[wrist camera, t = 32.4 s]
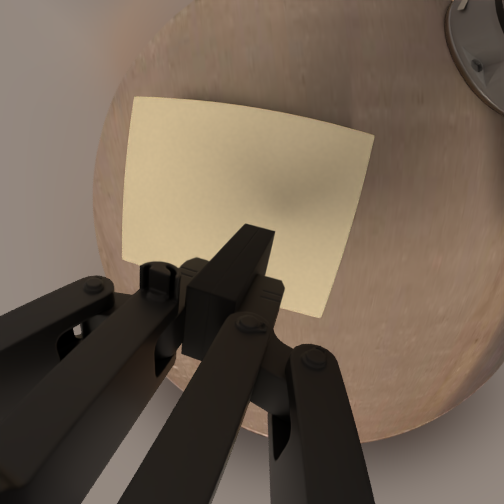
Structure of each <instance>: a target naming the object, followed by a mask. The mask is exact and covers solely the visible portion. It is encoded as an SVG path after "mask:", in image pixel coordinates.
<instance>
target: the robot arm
mask: <svg viewBox="0 0 504 504" xmlns="http://www.w3.org/2000/svg"><path fill="white" fill-rule="evenodd" d="M445 34H446V39H447V43H448V47H449V50H450V52H451V55H452V57H453V60H454V62H455V64H456V66H457V68H458V70H459V71H460V73H461V75H462V76H463V78H464V79H465V81H466V82H467V84H468V85H469V86H470V88H471V89H472V90H473V91H474V92H475V94H476V95H477V96H478V97H479V98H480V99H481V100H482V101H483V102H484V103H486V104H487V105H488V106H489V107H490V108H492V109H493V110H495V111H496V112H498V113H500V114H501V115H503V116H504V0H454V1H453V2H452V3H451V4H450V6H449V8H448V10H447V13H446V17H445ZM274 236H275V231H273V230H269V229H265V228H262V227H258V226H254V225H250V224H246V223H245V224H244V225H243V226H242V227H241V228H240V229H239V230H238V231H237V232H236V233H235V234H234V236H233V237H232V238H231V239H230V240H229V241H228V242H227V243H226V244H225V245H224V246H223V247H222V248H221V249H220V250H219V251H218V253H217V254H216V255H215V256H214V257H213V258H212V259H211V260H210V261H208V260H205V259H201V258H198V257H195V258H192V259H190V260H187V261H185V262H184V263H183V264H182V265H181V266H180V267H179V268H178V267H176V266H175V265H173V264H170V263H167V262H162V261H152V262H147V263H144V264H142V265H140V289H139V290H138V291H137V292H136V293H135V294H133V295H129V294H123V293H116V292H114V284H113V282H112V281H111V280H110V279H108V278H106V277H102V276H88V277H85V278H82V279H80V280H77V281H75V282H73V283H71V284H68V285H66V286H64V287H62V288H59V289H58V290H55V291H53V292H51V293H49V294H46V295H44V296H42V297H40V298H38V299H36V300H33V301H31V302H29V303H27V304H25V305H23V306H21V307H19V308H16V309H15V310H12V311H10V312H8V313H6V314H4V315H2V316H0V504H81V503H82V501H83V500H84V498H85V497H86V495H87V494H88V492H89V491H90V489H91V488H92V486H93V485H94V483H95V482H96V480H97V478H98V477H99V476H100V474H101V473H102V471H103V470H104V468H105V467H106V465H107V464H108V462H109V461H110V459H111V457H112V456H113V455H114V453H115V452H116V450H117V449H118V447H119V445H120V444H121V442H122V441H123V440H124V438H125V437H126V435H127V434H128V432H129V431H130V429H131V428H132V426H133V425H134V423H135V422H136V420H137V419H138V417H139V416H140V414H141V413H142V411H143V410H144V408H145V407H146V405H147V404H148V402H149V400H150V399H151V398H152V396H153V395H154V393H155V392H156V390H157V389H158V387H159V386H160V384H161V383H162V381H163V380H164V378H165V377H166V375H167V374H168V372H169V371H170V369H171V368H172V366H173V365H174V363H175V360H176V350H177V349H178V348H179V346H180V345H181V343H182V352H181V354H184V355H186V356H189V357H192V358H195V359H197V360H200V361H201V363H200V365H199V367H198V368H197V370H196V372H195V373H194V375H193V377H192V379H191V380H190V382H189V384H188V385H187V387H186V389H185V390H184V392H183V394H182V396H181V397H180V399H179V401H178V403H177V404H176V406H175V408H174V409H173V411H172V413H171V415H170V416H169V418H168V419H167V421H166V423H165V425H164V426H163V428H162V430H161V431H160V433H159V435H158V437H157V438H156V440H155V442H154V443H153V445H152V447H151V448H150V450H149V451H148V453H147V455H146V457H145V458H144V460H143V462H142V463H141V465H140V467H139V468H138V470H137V472H136V473H135V475H134V477H133V478H132V480H131V482H130V483H129V485H128V487H127V488H126V490H125V492H124V493H123V495H122V496H121V498H120V500H119V501H118V503H117V504H211V503H212V501H213V498H214V496H215V493H216V490H217V488H218V485H219V483H220V480H221V478H222V475H223V473H224V470H225V467H226V465H227V462H228V460H229V457H230V454H231V452H232V449H233V446H234V444H235V441H236V438H237V435H238V433H239V430H240V427H241V425H242V422H243V419H244V416H245V413H246V411H247V408H248V405H249V403H250V401H251V402H252V403H254V404H256V405H257V406H259V407H261V408H262V409H264V410H266V411H267V412H268V439H269V466H270V497H271V504H375V502H374V497H373V493H372V488H371V484H370V480H369V476H368V472H367V467H366V463H365V459H364V455H363V451H362V447H361V443H360V440H359V436H358V432H357V428H356V425H355V421H354V417H353V414H352V410H351V406H350V403H349V399H348V396H347V392H346V389H345V385H344V382H343V378H342V375H341V372H340V368H339V365H338V362H337V360H336V358H335V356H334V355H333V354H332V353H331V352H329V351H328V350H327V349H325V348H323V347H321V346H318V345H313V344H302V345H299V346H296V347H295V348H294V349H293V348H291V347H289V346H287V345H286V344H284V343H282V342H281V341H280V340H279V339H278V338H277V336H276V335H275V333H274V330H273V328H274V325H275V322H276V319H277V315H278V312H279V308H280V305H281V301H282V298H283V294H284V291H285V287H284V284H283V282H282V280H278V279H275V278H271V277H268V276H265V274H266V270H267V266H268V262H269V257H270V253H271V249H272V244H273V240H274ZM79 324H80V327H81V334H80V335H74V331H73V328H74V327H75V326H77V325H79Z"/></svg>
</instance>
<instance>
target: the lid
mask: <svg viewBox="0 0 504 504" xmlns="http://www.w3.org/2000/svg"><path fill="white" fill-rule="evenodd" d="M374 137H375V136H374V135H372V134H369V133H365V132H362V131H358V130H355V129H351V128H348V127H344V126H340V125H336V124H332V123H328V122H324V121H320V120H316V119H312V118H307V117H303V116H298V115H293V114H288V113H283V112H278V111H273V110H267V109H261V108H255V107H249V106H242V105H235V104H228V103H220V102H211V101H202V100H191V99H179V98H163V97H137V96H135V97H134V102H133V109H132V116H131V123H130V130H129V139H128V148H127V157H126V169H125V181H124V197H123V222H122V259H123V260H126V261H129V262H132V263H134V264H137V265H142V264H144V263H147V262H152V261H162V262H167V263H170V264H173V265H175V266H176V267H178V268H179V267H180V266H181V265H182V264H183V263H184V262H185V261H187V260H190V259H192V258H195V257H198V258H201V259H205V260H208V261H210V260H211V259H212V258H213V257H214V256H215V255H216V254H217V253H218V251H219V250H220V249H221V248H222V247H223V246H224V245H225V244H226V243H227V242H228V241H229V240H230V239H231V238H232V237H233V236H234V234H235V233H236V232H237V231H238V230H239V229H240V228H241V227H242V226H243V225H244V224H245V223H246V224H250V225H254V226H258V227H262V228H265V229H269V230H273V231H275V236H274V240H273V244H272V249H271V253H270V257H269V262H268V266H267V270H266V274H265V276H268V277H271V278H275V279H278V280H282V282H283V284H284V287H285V291H284V294H283V298H282V301H281V305H280V308H283V309H287V310H291V311H294V312H298V313H302V314H306V315H310V316H313V317H317V318H321V317H322V314H323V311H324V308H325V306H326V303H327V300H328V297H329V294H330V292H331V289H332V286H333V283H334V280H335V277H336V274H337V271H338V268H339V265H340V262H341V259H342V256H343V252H344V249H345V246H346V243H347V240H348V236H349V233H350V230H351V226H352V223H353V219H354V216H355V212H356V209H357V205H358V202H359V198H360V194H361V191H362V187H363V183H364V179H365V175H366V171H367V167H368V163H369V159H370V155H371V151H372V146H373V142H374Z"/></svg>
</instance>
